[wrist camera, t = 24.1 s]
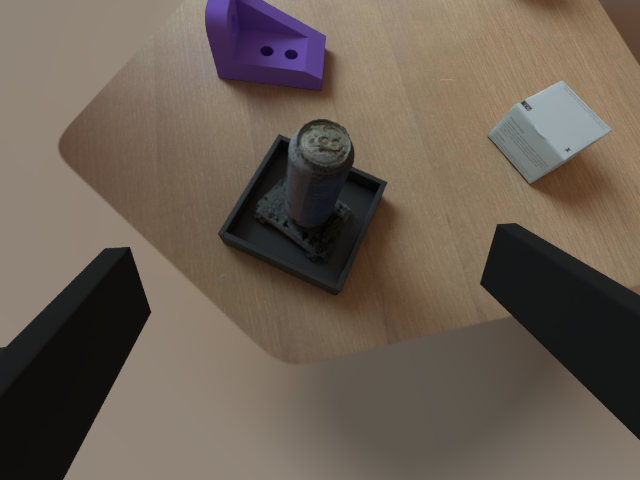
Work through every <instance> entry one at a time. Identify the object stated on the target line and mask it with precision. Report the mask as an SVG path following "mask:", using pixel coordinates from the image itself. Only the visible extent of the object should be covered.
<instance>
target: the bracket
mask: <svg viewBox="0 0 640 480" xmlns="http://www.w3.org/2000/svg"><path fill="white" fill-rule="evenodd" d="M205 25H206V32H207V36H208V40H209V44H210V47H211V51H212V55H213V58H214V62H215V66H216V69H217V73H218V77H219V78H226V79H234V80H242V81H250V82H258V83H266V84H274V85H282V86H290V87H298V88H305V89H313V90H321V86H322V77H323V65H324V53H325V41H326V36H325V35H323V34H321V33H320V32H318V31H316V30H314V29H312V28H311V27H309V26H307V25H305V24H303V23H302V22H300V21H298V20H296V19H295V18H293V17H291V16H289V15H287V14H286V13H284V12H282V11H280V10H278V9H277V8H275V7H273V6H271V5H269V4H268V3H266V2H264V1H262V0H208V2H207V5H206V10H205Z"/></svg>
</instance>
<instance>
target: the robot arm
mask: <svg viewBox="0 0 640 480" xmlns="http://www.w3.org/2000/svg"><path fill="white" fill-rule="evenodd" d="M480 284H481V285H482V286H483V287H484V288H485V289H486V290H487V291H488V292H489V293H490V294H491V295H492V296H493V297H494V298H495V299H496V300H497V301H498V302H499V303H500V304H501V305H502V306H503V307H504V308H505V309H506V310H507V311H508V312H509V313H510V314H511V315H512V316H513V317H514V318H515V319H517V321H518V322H520V323H521V324H522V325H523V326H524V327H525V328H526V329H527V330H528V331H529V332H530V333H531V334H532V335H533V336H534V337H535V338H536V339H537V340H538V341H539V342H540V343H541V344H542V345H543V346H544V347H545V348H546V349H547V350H548V351H549V352H550V353H551V354H552V355H553V356H554V357H555V358H556V359H557V360H558V361H559V362H560V363H562V365H563V366H565V367H566V368H567V369H568V370H569V371H570V372H571V373H572V374H573V375H574V376H575V377H576V378H577V379H578V380H579V381H580V382H581V383H582V384H583V385H584V386H585V387H586V388H587V389H588V390H589V391H590V392H591V393H592V394H593V395H594V396H595V397H596V398H597V399H598V400H599V401H600V402H601V403H602V404H603V405H604V406H605V407H606V408H608V409H609V410H610V411H611V412H612V413H613V414H614V415H615V416H616V417H617V418H618V419H619V420H620V421H621V422H622V423H623V424H624V425H625V426H626V427H627V428H628V429H629V430H630V431H631V432H632V433H633V434H634V435H635V436H636V437H637V438H638V439H639V440H640V295H638V294H636V293H634V292H633V291H631V290H629V289H628V288H626V287H624V286H622V285H621V284H619V283H617V282H616V281H614V280H612V279H610V278H609V277H607V276H605V275H604V274H602V273H600V272H599V271H597V270H595V269H593V268H592V267H590V266H588V265H587V264H585V263H583V262H581V261H580V260H578V259H576V258H575V257H573V256H571V255H569V254H568V253H566V252H564V251H563V250H561V249H559V248H557V247H556V246H554V245H552V244H551V243H549V242H547V241H545V240H544V239H542V238H540V237H539V236H537V235H535V234H533V233H532V232H530V231H528V230H527V229H525V228H523V227H521V226H520V225H518V224H516V223H510V224H497V227H496V231H495V234H494V238H493V241H492V244H491V248H490V251H489V255H488V258H487V262H486V265H485V268H484V272H483V275H482V279H481V282H480ZM150 313H151V310H150V307H149V304H148V301H147V298H146V295H145V292H144V289H143V286H142V283H141V280H140V277H139V273H138V271H137V267H136V264H135V262H134V258H133V255H132V252H131V249H130V247H122V248H105V249H104V250H103V251H102V252H101V253H100V254H99V255H98V256H97V257H96V258H95V259H94V260H93V261H92V262H91V263H90V264H89V265H88V266H87V267H86V268H85V269H84V270H83V271H82V272H81V273H80V274H79V275H78V276H77V277H76V278H75V279H74V280H73V281H72V282H71V283H70V284H69V285H68V286H67V287H66V288H65V289H64V290H63V291H62V292H61V293H60V294H59V295H58V296H57V297H56V298H55V299H54V300H53V301H52V302H51V303H50V304H49V305H48V306H47V307H46V308H45V309H44V310H43V311H42V312H41V313H40V314H39V315H38V316H37V317H36V318H35V319H34V320H33V321H32V322H31V323H30V324H29V325H28V326H27V327H26V328H25V329H24V330H23V331H22V332H21V333H20V334H19V335H18V336H17V337H16V338H15V339H14V340H13V341H12V342H11V343H10V344H9V345H8V346H7V347H3V348H0V480H63V479H64V477H65V475H66V473H67V471H68V469H69V468H70V466H71V464H72V462H73V460H74V458H75V456H76V454H77V452H78V451H79V449H80V446H81V445H82V443H83V441H84V439H85V437H86V435H87V433H88V431H89V430H90V428H91V426H92V424H93V422H94V420H95V418H96V416H97V414H98V412H99V411H100V409H101V407H102V405H103V403H104V401H105V399H106V397H107V395H108V393H109V391H110V390H111V387H112V386H113V384H114V382H115V380H116V378H117V376H118V374H119V372H120V371H121V369H122V366H123V365H124V363H125V361H126V359H127V357H128V355H129V354H130V352H131V350H132V348H133V346H134V344H135V342H136V340H137V338H138V336H139V334H140V333H141V331H142V329H143V327H144V325H145V323H146V321H147V319H148V317H149V315H150Z"/></svg>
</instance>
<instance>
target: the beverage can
mask: <svg viewBox="0 0 640 480" xmlns="http://www.w3.org/2000/svg"><path fill="white" fill-rule="evenodd" d="M353 163H354V147H353V144H352V141H351V140H350V138H349V134H347V131H346V129H345V128H344V127H342V126H340V125H339V124H337V123H334V122H332V121H330V120H329V121H328V120H326V119H317V120H312V121H310V122H308V123H307V124H305V125H303V126H302V127H301V128H300V129H298V130H297V131H296V132H295V133H294V135H293V136H292V138H291V140H290V144H289V149H288V164H287V177H285V178H286V179H285V180H284V181H282V183H281V182H280V181H281V180H280V181H279V183H277V184H276V185H275V186H274V188H272V189H271V191H270V192H268V193H267V194H266V195H265V196H266V197H267V198H268V199H266V200H265V199H264V198H262V199H261V200H260V201H259V202H258V204H259V207H257V208H258V209H257V212H256V211H252V209H251V211H252V216H254V217H255V219H257V220H258V221H260V222H262V223H263V224H267V223H268V224H270V225H273V226H274V227H275V228H276V229H278V230H280V231H281V232H282V233H284V234H285V236H287V237H288V238H290V239H291V240H293V241H294V242H295V243H297V244H299V246H301V247H302V248H303V249H305V250H306V251H305V253H304V255H305V256H307V257H308V258H310V259H311V260H313V261H317V260H318V259H319V258H318V259H316V258H317V256H321V257H323V259H324V260H325V261H326V262H328V259H329V260H331V259H330V258H331V255H332V254H333V252H332V251H334V249H335V248H334V247H336V246H335V243H334V244H333V243H332V241H329V239H330V237H332V238H333V240H335V239H334V238H336V239H337V238H338V239H339V238H340V234H341V233H340V232H341V231H343V230H342V229H341V228H343V226H344V225H346V223H345V222H346V221H347V220H348V217H349V215H350V211H349V210H352V209H350V208H349V207H348V206H347V205H346V204H343V203H342V202H341V201H339V200H338V197H339V194H340V192H341V190H342V188H343V186H344V183H345V181H346V179H347V176H348V174H349V172H350V169H351V167H352V165H353ZM279 184H280V185H279ZM275 187H276V188H275ZM265 196H264V197H265ZM256 205H257V204H256ZM337 233H338V234H337ZM335 235H336V236H337V237H336V236H335ZM333 236H334V237H333ZM336 241H337V240H336ZM322 261H323V260H322ZM320 262H321V261H320ZM321 263H322V262H321Z"/></svg>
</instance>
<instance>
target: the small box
mask: <svg viewBox="0 0 640 480" xmlns="http://www.w3.org/2000/svg"><path fill="white" fill-rule="evenodd" d="M610 131H612V129H611V128H610V127H609V126H608V125H606V124H605V123H604V122H603V121H602V120H601V119H600V118H599V117H598V116H597V115H596V114H595V113H594V112H593V111H592V110H591V109H590V108H589V107H588V106H587V105H586V104H585V103H584V102H583V101H582V100H581V99H580V98H579V97H578V96H577V95H576V94H575V93H574V92H573V91H572V90H571V89H570V88H569V86H568V85H567V84H566V83H565V82H564V81H563V80H562V81H560V82H558V83H556V84H554V85H552V86H550V87H548V88H546V89H545V90H543V91H541V92H539V93H537V94H535V95H533V96H531V97H529V98H527V99H525V100H523V101H521V102H519V103H518V104H515V105H514V106H513V108H512V109H511V110H510V111H509V112H508V113H507V114H506V115H505V117H504V118H503V119H502V120H501V121H500V122H499V123H498V124H497V125H496V126H495V127H494V128H493V129H492V131H491V132H490V133H489V134H488V137H489V138H490V139H491V140H492V141H493V142H494V143H495V144H496V146H497V147H498V148H499V149H500V150H501V151H502V152H503V154H504V155H505V156H506V157H507V158H508V159H509V160H510V162H511V163H512V164H513V165H514V166H515V167H516V169H517V170H518V171H519V172H520V173H521V174H522V175H523V177H524V178H525V179H526V180H527V181H528V183H529V184H531V183H533V182H534V181H536V180H538V179H539V178H541V177H543V176H544V175H546V174H548V173H549V172H551V171H553V170H554V169H556V168H558V167H559V166H561V165H562V164H564V163H566V162H567V161H569V160H570V159H572V158H573V157H575V156H576V155H578V154H579V153H581V152H582V151H583V150H585V149H586V148H588V147H589V146H591V145H592V144H593V143H595V142H596V141H598V140H599V139H601V138H602V137H603V136H605V135H606V134H608V133H609V132H610Z"/></svg>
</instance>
